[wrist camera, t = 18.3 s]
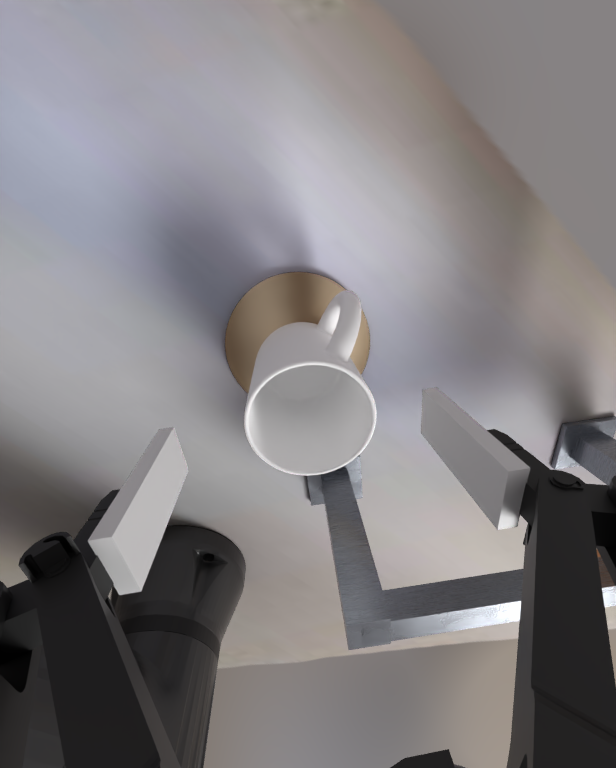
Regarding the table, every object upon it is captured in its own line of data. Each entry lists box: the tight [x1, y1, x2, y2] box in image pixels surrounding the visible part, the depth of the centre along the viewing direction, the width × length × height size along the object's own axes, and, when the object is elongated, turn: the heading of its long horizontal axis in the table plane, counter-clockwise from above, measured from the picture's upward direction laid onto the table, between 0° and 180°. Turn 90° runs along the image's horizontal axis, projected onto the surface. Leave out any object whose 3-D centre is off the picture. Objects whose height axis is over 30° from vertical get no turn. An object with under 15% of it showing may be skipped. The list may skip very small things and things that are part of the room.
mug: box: [244, 290, 377, 476], centre depth 23 cm, size 12×8×10 cm
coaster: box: [225, 272, 370, 393], centre depth 28 cm, size 13×13×1 cm
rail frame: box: [307, 416, 616, 650], centre depth 28 cm, size 35×6×16 cm, turn 97°
